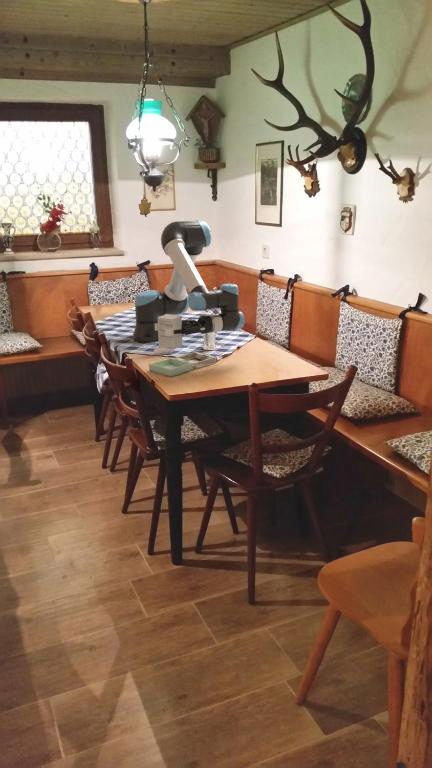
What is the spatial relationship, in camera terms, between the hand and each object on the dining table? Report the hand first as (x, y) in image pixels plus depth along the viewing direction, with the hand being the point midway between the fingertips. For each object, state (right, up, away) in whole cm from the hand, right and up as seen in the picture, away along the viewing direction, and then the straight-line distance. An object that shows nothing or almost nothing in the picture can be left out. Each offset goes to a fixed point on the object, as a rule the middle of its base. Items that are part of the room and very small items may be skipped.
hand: (160, 329), depth 240 cm
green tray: (+4, -16, +8) cm, 18 cm away
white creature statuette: (-1, -8, +34) cm, 35 cm away
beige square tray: (+14, -13, +18) cm, 26 cm away
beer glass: (+19, -6, +40) cm, 44 cm away
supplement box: (+4, -7, +4) cm, 9 cm away
